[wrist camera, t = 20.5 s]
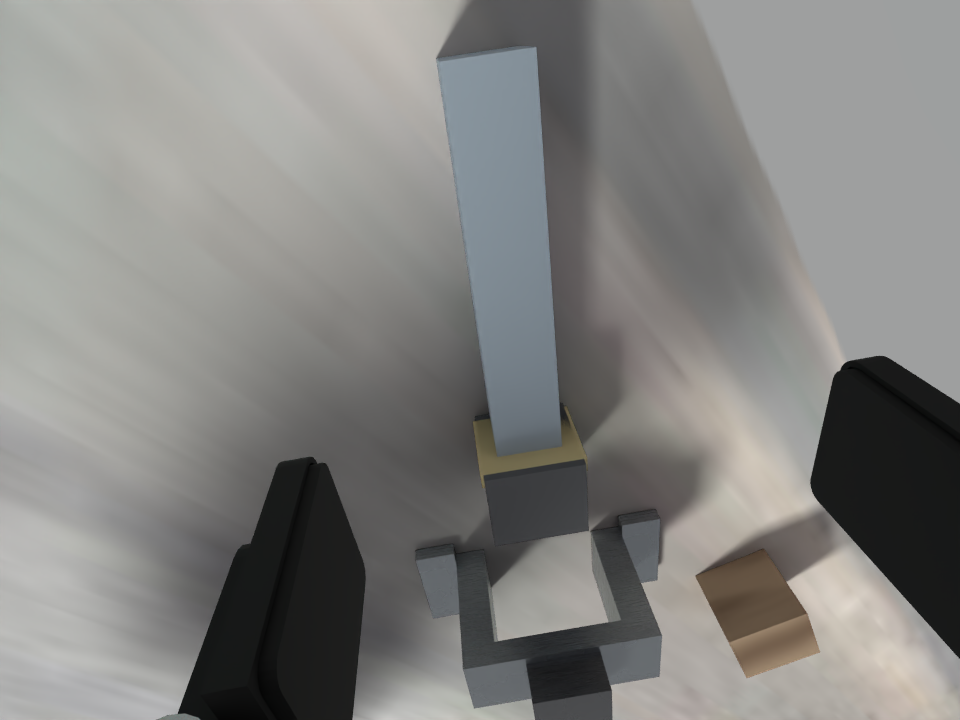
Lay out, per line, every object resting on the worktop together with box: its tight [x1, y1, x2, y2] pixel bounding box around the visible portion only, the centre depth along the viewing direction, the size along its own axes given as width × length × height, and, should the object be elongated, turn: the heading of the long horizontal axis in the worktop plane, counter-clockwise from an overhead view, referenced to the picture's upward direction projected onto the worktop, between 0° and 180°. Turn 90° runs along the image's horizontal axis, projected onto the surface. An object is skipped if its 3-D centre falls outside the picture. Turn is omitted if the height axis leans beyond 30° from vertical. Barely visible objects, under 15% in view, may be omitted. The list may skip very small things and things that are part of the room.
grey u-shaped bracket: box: [416, 509, 662, 720], centre depth 32 cm, size 6×15×9 cm, turn 98°
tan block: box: [696, 549, 820, 678], centre depth 37 cm, size 5×5×5 cm
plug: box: [436, 46, 589, 546], centre depth 24 cm, size 22×5×5 cm, turn 7°
